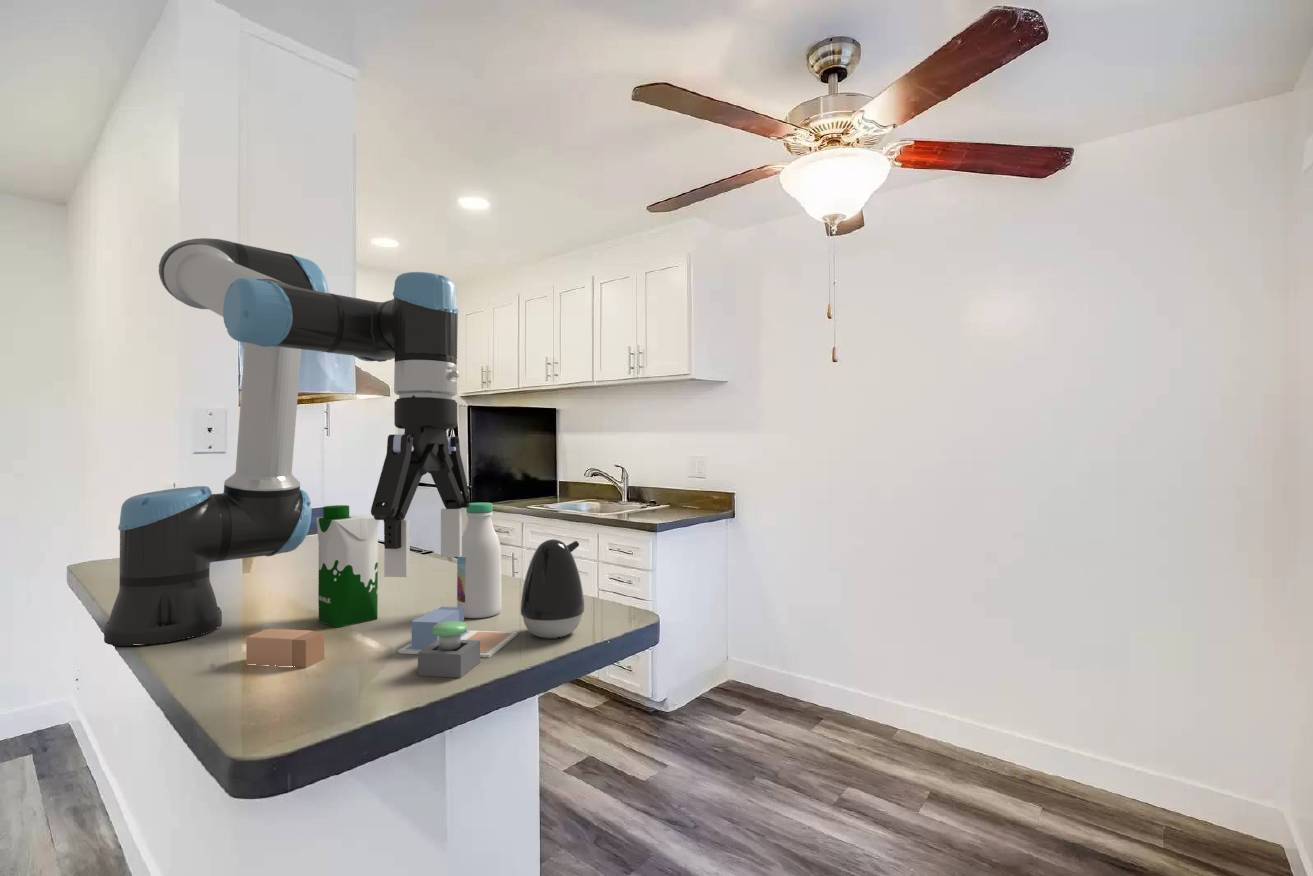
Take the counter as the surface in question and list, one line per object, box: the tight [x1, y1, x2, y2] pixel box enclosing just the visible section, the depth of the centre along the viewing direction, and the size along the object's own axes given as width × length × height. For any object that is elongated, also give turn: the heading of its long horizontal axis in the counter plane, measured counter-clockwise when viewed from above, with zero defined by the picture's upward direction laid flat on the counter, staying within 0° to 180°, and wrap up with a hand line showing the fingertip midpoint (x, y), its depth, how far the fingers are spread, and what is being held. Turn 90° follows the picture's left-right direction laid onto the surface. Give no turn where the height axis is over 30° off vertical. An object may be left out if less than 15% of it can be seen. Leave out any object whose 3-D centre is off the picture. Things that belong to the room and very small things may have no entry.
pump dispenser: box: [519, 539, 585, 639], centre depth 102 cm, size 10×10×15 cm
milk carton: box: [315, 504, 381, 628], centre depth 110 cm, size 9×9×20 cm
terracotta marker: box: [245, 628, 325, 669], centre depth 89 cm, size 9×4×4 cm, turn 82°
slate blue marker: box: [411, 606, 465, 649], centre depth 97 cm, size 9×4×4 cm, turn 172°
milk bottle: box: [456, 502, 502, 619], centre depth 114 cm, size 8×8×20 cm
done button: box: [433, 621, 468, 650], centre depth 86 cm, size 4×4×3 cm
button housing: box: [417, 640, 481, 679], centre depth 86 cm, size 6×6×3 cm
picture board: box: [397, 629, 518, 659], centre depth 96 cm, size 14×11×1 cm
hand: (426, 565), depth 79 cm, fingers open, 13 cm apart
